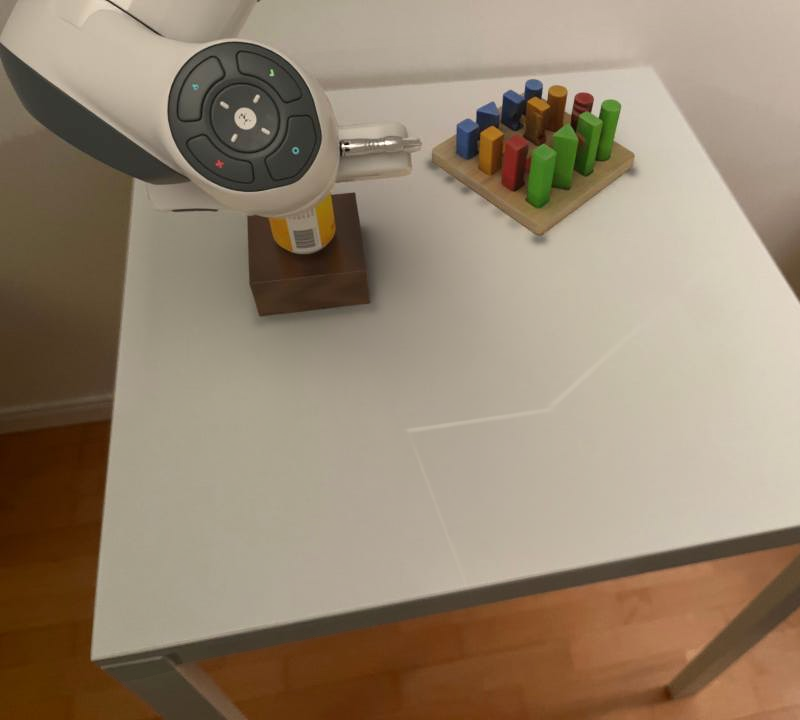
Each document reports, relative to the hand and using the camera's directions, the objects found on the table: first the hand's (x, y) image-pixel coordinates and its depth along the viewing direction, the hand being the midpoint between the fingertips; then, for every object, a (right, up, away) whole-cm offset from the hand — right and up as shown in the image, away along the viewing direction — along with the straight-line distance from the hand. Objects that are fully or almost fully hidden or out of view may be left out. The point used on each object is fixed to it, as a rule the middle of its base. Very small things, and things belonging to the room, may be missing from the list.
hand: (288, 169), depth 64 cm
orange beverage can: (-1, -4, +9) cm, 10 cm away
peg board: (+23, +7, +25) cm, 34 cm away
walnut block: (-1, -7, +13) cm, 15 cm away
